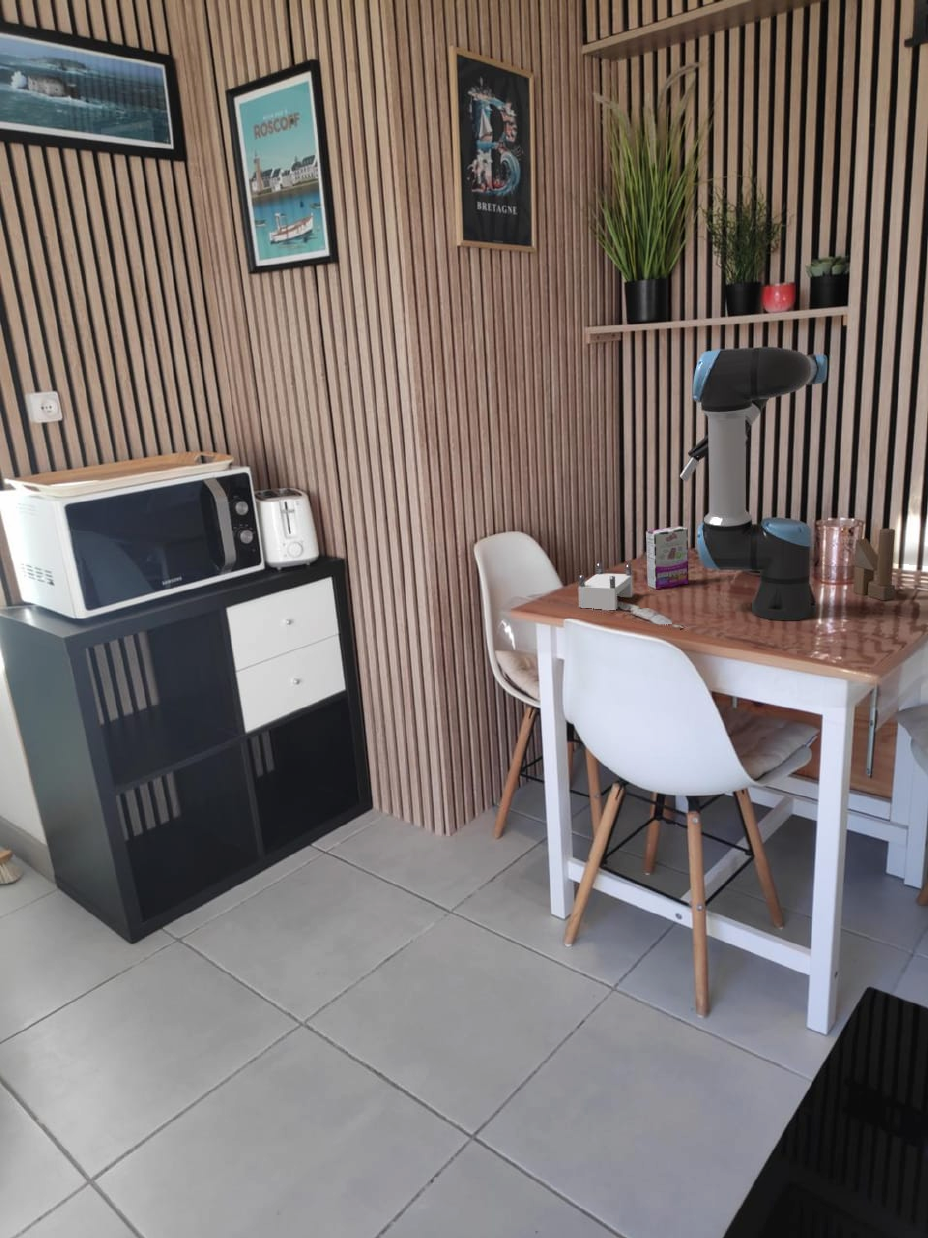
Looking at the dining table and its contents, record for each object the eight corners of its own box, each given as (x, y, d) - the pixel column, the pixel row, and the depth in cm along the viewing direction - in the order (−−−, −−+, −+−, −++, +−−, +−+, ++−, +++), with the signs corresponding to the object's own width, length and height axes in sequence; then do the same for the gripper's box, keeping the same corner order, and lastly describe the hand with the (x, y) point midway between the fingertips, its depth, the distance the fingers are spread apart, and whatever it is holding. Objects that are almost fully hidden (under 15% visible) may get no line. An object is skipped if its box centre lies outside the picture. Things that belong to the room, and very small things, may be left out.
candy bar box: (679, 580, 264) (678, 525, 260) (689, 584, 260) (689, 527, 255) (646, 586, 261) (645, 530, 256) (655, 590, 256) (655, 533, 252)
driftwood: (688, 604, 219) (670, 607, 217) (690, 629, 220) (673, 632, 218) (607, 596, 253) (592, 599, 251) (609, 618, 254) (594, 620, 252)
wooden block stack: (863, 590, 241) (867, 523, 236) (894, 599, 231) (899, 529, 226) (852, 592, 240) (855, 525, 235) (883, 601, 230) (887, 531, 225)
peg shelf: (632, 595, 252) (632, 564, 250) (615, 610, 239) (614, 577, 236) (598, 593, 257) (597, 562, 254) (579, 608, 243) (577, 575, 241)
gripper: (779, 431, 246) (736, 496, 246) (717, 422, 267) (678, 483, 267) (763, 415, 242) (720, 481, 242) (702, 408, 263) (663, 469, 263)
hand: (698, 482), depth 254 cm, fingers open, 13 cm apart
